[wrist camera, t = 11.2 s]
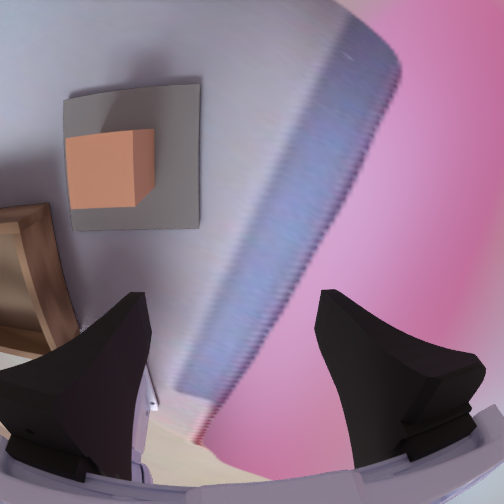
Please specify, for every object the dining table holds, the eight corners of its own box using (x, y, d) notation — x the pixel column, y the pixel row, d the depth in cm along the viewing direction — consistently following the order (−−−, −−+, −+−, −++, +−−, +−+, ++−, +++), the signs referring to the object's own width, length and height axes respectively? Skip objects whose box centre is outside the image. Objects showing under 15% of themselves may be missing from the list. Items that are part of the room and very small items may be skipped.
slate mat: (199, 226, 21) (198, 228, 21) (75, 229, 20) (72, 231, 19) (200, 84, 17) (199, 83, 16) (66, 100, 16) (63, 100, 15)
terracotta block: (154, 186, 19) (135, 206, 14) (102, 189, 19) (71, 209, 14) (154, 128, 17) (132, 130, 13) (99, 133, 17) (65, 138, 12)
